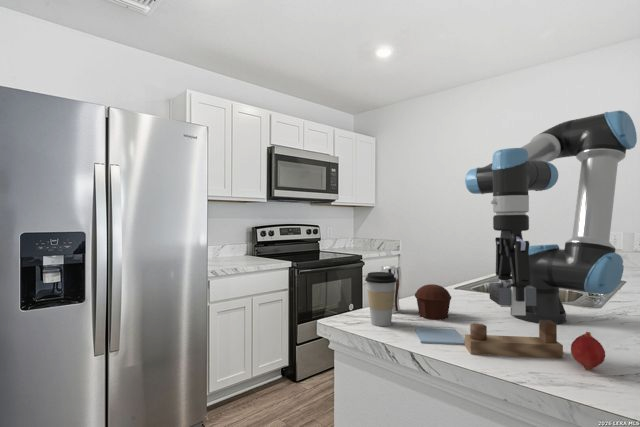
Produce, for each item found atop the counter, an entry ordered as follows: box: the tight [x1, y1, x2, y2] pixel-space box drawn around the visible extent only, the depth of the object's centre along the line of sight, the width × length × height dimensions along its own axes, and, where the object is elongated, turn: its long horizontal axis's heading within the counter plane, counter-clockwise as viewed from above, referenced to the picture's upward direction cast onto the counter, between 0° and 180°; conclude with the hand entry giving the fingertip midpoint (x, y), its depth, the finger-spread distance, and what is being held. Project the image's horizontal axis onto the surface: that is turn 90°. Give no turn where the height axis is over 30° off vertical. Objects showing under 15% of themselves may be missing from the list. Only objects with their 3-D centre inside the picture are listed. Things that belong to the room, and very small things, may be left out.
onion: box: [570, 331, 606, 371], centre depth 74 cm, size 6×6×8 cm
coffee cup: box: [364, 271, 396, 327], centre depth 107 cm, size 9×9×15 cm
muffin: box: [414, 283, 453, 321], centre depth 114 cm, size 12×11×10 cm
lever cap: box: [488, 280, 536, 306], centre depth 84 cm, size 8×6×5 cm
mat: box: [414, 327, 465, 346], centre depth 95 cm, size 11×11×1 cm
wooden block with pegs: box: [464, 320, 564, 359], centre depth 84 cm, size 20×5×8 cm, turn 82°
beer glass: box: [380, 265, 402, 314], centre depth 121 cm, size 7×7×15 cm
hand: (512, 310), depth 84 cm, fingers closed on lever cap, 6 cm apart
